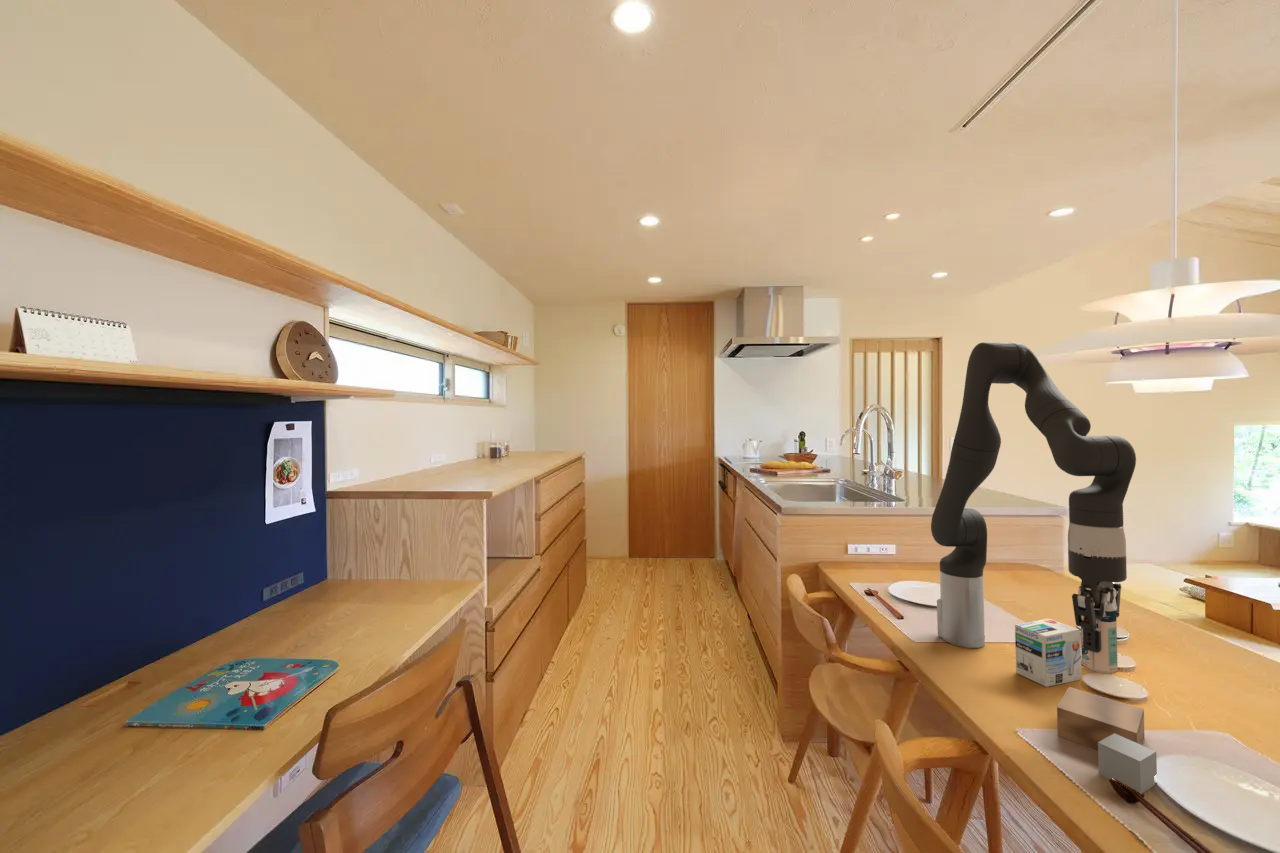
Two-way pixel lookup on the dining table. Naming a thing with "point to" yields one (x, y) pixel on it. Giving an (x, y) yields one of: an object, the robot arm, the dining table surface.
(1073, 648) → the light bulb box
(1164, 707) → the dining table surface
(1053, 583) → the dining table surface
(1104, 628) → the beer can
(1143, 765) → the slate block
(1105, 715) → the walnut block
